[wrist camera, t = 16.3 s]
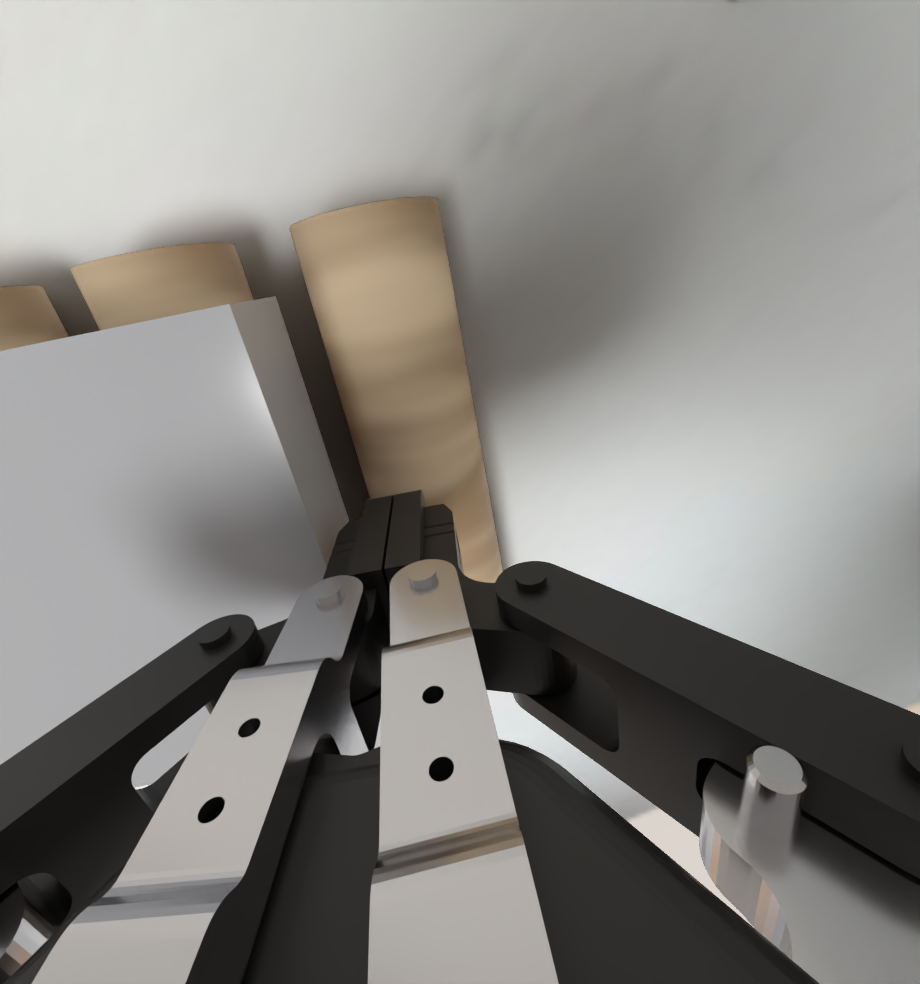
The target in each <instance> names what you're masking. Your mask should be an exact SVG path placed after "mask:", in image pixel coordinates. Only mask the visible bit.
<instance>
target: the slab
mask: <svg viewBox="0 0 920 984" xmlns="http://www.w3.org/2000/svg"><path fill="white" fill-rule="evenodd" d="M348 522H349V518H348V515H347V512H346V509H345V506H344V503H343V500H342V497H341V494H340V491H339V488H338V485H337V482H336V479H335V475H334V472H333V469H332V466H331V463H330V460H329V457H328V454H327V451H326V448H325V445H324V442H323V439H322V436H321V433H320V430H319V427H318V424H317V421H316V418H315V415H314V411H313V408H312V405H311V402H310V399H309V396H308V393H307V390H306V387H305V384H304V381H303V378H302V375H301V372H300V369H299V366H298V363H297V360H296V357H295V354H294V351H293V347H292V344H291V341H290V338H289V335H288V332H287V329H286V326H285V323H284V320H283V317H282V314H281V311H280V308H279V305H278V302H277V299H276V296H273V297H267V298H262V299H256V300H250V301H244V302H238V303H232V304H227V305H222V306H217V307H212V308H207V309H202V310H198V311H193V312H188V313H183V314H178V315H173V316H168V317H163V318H159V319H154V320H149V321H144V322H139V323H134V324H129V325H124V326H120V327H115V328H110V329H105V330H100V331H95V332H90V333H85V334H81V335H76V336H71V337H66V338H61V339H56V340H51V341H47V342H42V343H37V344H32V345H27V346H22V347H17V348H12V349H8V350H3V351H0V765H1V764H2V763H4V762H5V761H7V760H8V759H10V758H11V757H12V756H14V755H15V754H17V753H18V752H20V751H21V750H23V749H24V748H26V747H27V746H28V745H30V744H31V743H33V742H34V741H36V740H37V739H39V738H40V737H42V736H43V735H44V734H46V733H47V732H49V731H50V730H52V729H53V728H55V727H56V726H58V725H59V724H60V723H62V722H63V721H65V720H66V719H68V718H69V717H71V716H72V715H74V714H75V713H77V712H78V711H79V710H81V709H82V708H84V707H85V706H87V705H88V704H90V703H91V702H93V701H94V700H95V699H97V698H98V697H100V696H101V695H103V694H104V693H106V692H107V691H109V690H110V689H111V688H113V687H114V686H116V685H117V684H119V683H120V682H122V681H123V680H125V679H126V678H127V677H129V676H130V675H132V674H133V673H135V672H136V671H138V670H139V669H141V668H142V667H144V666H145V665H146V664H148V663H149V662H151V661H152V660H154V659H155V658H157V657H158V656H160V655H161V654H162V653H164V652H165V651H167V650H168V649H170V648H171V647H173V646H174V645H176V644H177V643H178V642H180V641H181V640H183V639H184V638H186V637H187V636H189V635H190V634H192V633H193V632H194V631H196V630H197V629H199V628H200V627H202V626H204V625H205V624H207V623H209V622H211V621H213V620H216V619H218V618H221V617H224V616H228V615H234V614H243V615H247V616H249V617H251V618H252V619H253V620H254V623H255V625H256V627H257V629H258V630H259V629H262V628H265V627H267V626H270V625H272V624H275V623H277V622H280V621H282V620H285V619H287V618H288V617H289V615H290V613H291V611H292V609H293V607H294V605H295V603H296V601H297V599H298V598H299V596H300V595H301V594H302V593H303V592H304V591H305V590H306V589H307V588H309V587H310V586H312V585H313V584H315V583H317V582H319V581H321V580H323V577H324V574H325V571H326V568H327V565H328V562H329V559H330V556H331V555H332V550H333V547H334V546H335V541H336V538H337V535H338V532H339V531H340V530H341V529H342V528H343V527H344V526H345V525H346V524H347V523H348ZM209 716H210V714H209V712H208V710H207V708H206V707H205V706H204V707H202V708H201V709H200V710H199V711H198V712H196V713H195V714H194V715H193V716H191V717H190V718H189V719H188V720H187V721H185V722H184V723H183V724H182V725H180V726H179V727H178V728H177V729H176V730H174V731H173V732H172V733H171V734H169V735H168V736H167V737H166V738H165V739H163V740H162V741H161V742H160V743H158V744H157V745H156V746H155V747H153V748H152V749H151V750H150V751H149V752H147V753H146V754H145V755H144V756H143V757H142V758H141V759H140V760H139V762H138V763H137V765H136V766H135V768H134V771H133V773H132V785H133V787H138V786H143V785H149V784H153V783H154V782H155V781H156V780H158V779H159V778H160V777H161V776H162V775H163V774H164V773H166V772H167V771H168V770H169V769H170V768H171V767H173V766H174V765H175V764H176V763H177V762H178V761H179V760H181V759H182V758H183V757H184V756H185V755H186V754H187V753H189V752H190V750H191V748H192V746H193V745H194V743H195V741H196V739H197V738H198V736H199V734H200V732H201V730H202V729H203V727H204V725H205V723H206V722H207V720H208V718H209Z"/></svg>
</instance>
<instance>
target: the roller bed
mask: <svg viewBox="0 0 920 984" xmlns="http://www.w3.org/2000/svg"><path fill="white" fill-rule="evenodd" d="M289 229H290V232H291V236H292V239H293V242H294V246H295V249H296V252H297V256H298V259H299V262H300V266H301V269H302V272H303V276H304V279H305V282H306V286H307V289H308V292H309V296H310V299H311V302H312V306H313V309H314V312H315V316H316V319H317V323H318V326H319V329H320V333H321V336H322V339H323V343H324V346H325V349H326V353H327V356H328V359H329V363H330V366H331V369H332V373H333V376H334V379H335V383H336V386H337V389H338V393H339V396H340V399H341V403H342V406H343V409H344V413H345V416H346V419H347V423H348V426H349V429H350V433H351V436H352V440H353V443H354V446H355V450H356V453H357V456H358V460H359V463H360V466H361V470H362V473H363V476H364V480H365V483H366V486H367V490H368V493H369V496H370V499H374V498H379V497H385V496H390V495H395V494H400V493H406V492H411V491H417V490H422V492H423V495H424V499H425V503H426V507H428V506H433V505H439V504H444V505H446V506H447V507H448V508H449V509H450V510H451V511H452V513H453V517H454V522H455V527H456V532H457V537H458V542H459V547H460V552H461V557H462V564H463V572H464V575H465V576H467V577H468V578H470V579H473V580H476V581H480V582H488V583H495V582H496V580H497V578H498V576H499V575H500V574H501V573H502V572H503V569H502V563H501V558H500V552H499V546H498V541H497V535H496V529H495V523H494V518H493V512H492V506H491V501H490V495H489V489H488V483H487V478H486V472H485V466H484V461H483V455H482V449H481V444H480V438H479V432H478V426H477V421H476V415H475V409H474V404H473V398H472V392H471V387H470V381H469V375H468V369H467V364H466V358H465V352H464V347H463V341H462V335H461V329H460V324H459V318H458V312H457V307H456V301H455V295H454V290H453V284H452V278H451V272H450V267H449V261H448V255H447V250H446V244H445V238H444V233H443V227H442V221H441V215H440V210H439V204H438V199H437V198H435V197H408V198H399V199H391V200H384V201H378V202H372V203H366V204H361V205H356V206H352V207H347V208H343V209H338V210H334V211H330V212H327V213H323V214H319V215H316V216H313V217H310V218H307V219H304V220H301V221H299V222H297V223H295V224H293V225H291V226H290V228H289ZM70 271H71V273H72V275H73V277H74V279H75V281H76V283H77V285H78V287H79V289H80V291H81V293H82V295H83V297H84V299H85V301H86V303H87V305H88V307H89V309H90V311H91V313H92V315H93V317H94V319H95V322H96V324H97V326H98V328H99V330H105V329H110V328H115V327H120V326H124V325H129V324H134V323H139V322H144V321H149V320H154V319H159V318H163V317H168V316H173V315H178V314H183V313H188V312H193V311H198V310H202V309H207V308H212V307H217V306H222V305H227V304H232V303H238V302H244V301H250V300H254V299H253V296H252V293H251V290H250V287H249V285H248V282H247V279H246V276H245V273H244V270H243V267H242V264H241V262H240V259H239V256H238V253H237V250H236V247H235V244H232V243H222V242H217V243H198V244H187V245H178V246H170V247H162V248H156V249H149V250H143V251H137V252H131V253H126V254H120V255H115V256H111V257H106V258H102V259H98V260H94V261H90V262H86V263H83V264H80V265H77V266H75V267H73V268H71V269H70ZM66 337H69V336H68V334H67V332H66V330H65V328H64V326H63V324H62V323H61V321H60V319H59V317H58V315H57V313H56V311H55V309H54V307H53V305H52V303H51V301H50V300H49V298H48V296H47V294H46V292H45V290H44V288H43V286H37V285H24V286H8V287H0V351H3V350H8V349H12V348H17V347H22V346H27V345H32V344H37V343H42V342H47V341H51V340H56V339H61V338H66Z"/></svg>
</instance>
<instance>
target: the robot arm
mask: <svg viewBox="0 0 920 984" xmlns="http://www.w3.org/2000/svg"><path fill="white" fill-rule="evenodd" d="M486 690H493V691H502V692H511V693H513V695H514V698H515V700H516V702H517V703H518V704H519V706H521V707H522V708H523V709H524V710H525V711H527V712H528V713H530V714H531V715H532V716H534V717H535V718H536V719H538V720H539V721H541V722H542V723H543V724H545V725H546V726H547V727H549V728H550V729H552V730H553V731H554V732H556V733H557V734H558V735H560V736H561V737H562V738H564V739H565V740H567V741H568V742H569V743H571V744H572V745H573V746H575V747H576V748H578V749H579V750H580V751H582V752H583V753H584V754H586V755H587V756H589V757H590V758H591V759H593V760H594V761H595V762H597V763H598V764H600V765H601V766H602V767H604V768H605V769H606V770H608V771H609V772H610V773H612V774H613V775H615V776H616V777H617V778H619V779H620V780H621V781H623V782H624V783H626V784H627V785H628V786H630V787H631V788H632V789H634V790H635V791H637V792H638V793H639V794H641V795H642V796H643V797H645V798H646V799H648V800H649V801H650V802H652V803H653V804H654V805H656V806H657V807H658V808H660V809H661V810H663V811H664V812H665V813H667V814H668V815H669V816H671V817H672V818H674V819H675V820H676V821H678V822H679V823H680V824H682V825H683V826H685V827H686V828H687V829H689V830H690V831H691V832H693V833H694V834H696V835H697V836H698V837H699V846H700V852H701V857H702V860H703V863H704V866H705V868H706V870H707V872H708V874H709V876H710V878H711V879H712V881H713V882H714V884H715V885H716V887H717V888H718V889H719V890H720V892H721V893H722V894H723V895H724V896H725V897H726V898H727V899H728V900H729V901H730V902H731V903H732V904H733V905H734V906H735V907H736V908H737V909H738V910H739V911H740V912H741V913H742V914H743V915H744V916H745V917H746V918H747V920H748V921H749V922H750V923H751V925H752V926H753V927H754V928H753V927H752V926H751V925H750V924H748V923H747V922H746V921H745V920H744V919H743V918H741V917H740V916H739V915H738V914H736V913H735V912H734V911H733V910H732V909H731V908H730V907H728V906H727V905H726V904H725V903H724V902H722V901H721V900H720V899H719V898H718V897H716V896H715V895H714V894H713V893H712V892H710V891H709V890H708V889H707V888H706V887H704V886H703V885H702V884H701V883H700V882H699V881H697V880H696V879H695V878H694V877H693V876H692V875H690V874H689V873H688V872H687V871H685V870H684V869H683V868H682V867H681V866H680V865H678V864H677V863H676V862H675V861H674V860H672V859H671V858H670V857H669V856H668V855H667V854H665V853H664V852H663V851H662V850H661V849H659V848H658V847H657V846H656V845H655V844H653V843H652V842H651V841H650V840H649V839H648V838H646V837H645V836H644V835H643V834H642V833H640V832H639V831H638V830H637V829H636V828H634V827H633V826H632V825H631V824H630V823H629V822H627V821H626V820H625V819H624V818H623V817H621V816H620V815H619V814H618V813H617V812H616V811H614V810H613V809H612V808H611V807H610V806H608V805H607V804H606V803H605V802H604V801H603V800H601V799H600V798H599V797H598V796H597V795H595V794H594V793H593V792H592V791H591V790H589V789H588V788H587V787H586V786H585V785H584V784H582V783H581V782H580V781H579V780H578V779H576V778H575V777H574V776H573V775H572V774H570V773H569V772H568V771H567V770H566V769H564V768H563V767H562V766H560V765H559V764H558V763H556V762H555V761H553V760H551V759H550V758H548V757H547V756H545V755H543V754H541V753H539V752H537V751H535V750H533V749H531V748H528V747H526V746H523V745H520V744H517V743H514V742H509V741H504V740H499V739H498V736H497V732H496V728H495V724H494V720H493V715H492V711H491V707H490V703H489V699H488V695H487V691H486ZM204 706H205V707H206V708H207V710H208V712H209V714H210V716H209V718H208V720H207V722H206V723H205V725H204V727H203V729H202V730H201V732H200V734H199V736H198V738H197V739H196V741H195V743H194V745H193V746H192V748H191V750H190V752H189V753H187V754H186V755H185V756H184V757H183V758H182V759H181V760H179V761H178V762H177V763H176V764H175V765H174V766H173V767H171V768H170V769H169V770H168V771H167V772H166V773H164V774H163V775H162V776H161V777H160V778H159V779H158V780H156V781H155V782H154V783H153V784H151V785H149V786H147V787H145V788H143V789H138V790H135V789H134V787H133V785H132V773H133V771H134V768H135V766H136V765H137V763H138V762H139V760H140V759H141V758H142V757H143V756H144V755H145V754H146V753H147V752H149V751H150V750H151V749H152V748H153V747H155V746H156V745H157V744H158V743H160V742H161V741H162V740H163V739H165V738H166V737H167V736H168V735H169V734H171V733H172V732H173V731H174V730H176V729H177V728H178V727H179V726H180V725H182V724H183V723H184V722H185V721H187V720H188V719H189V718H190V717H191V716H193V715H194V714H195V713H196V712H198V711H199V710H200V709H201V708H202V707H204ZM0 984H920V715H918V714H915V713H913V712H910V711H908V710H906V709H903V708H901V707H898V706H896V705H893V704H891V703H889V702H886V701H884V700H881V699H879V698H877V697H874V696H872V695H869V694H867V693H864V692H862V691H860V690H857V689H855V688H852V687H850V686H847V685H845V684H843V683H840V682H838V681H835V680H833V679H830V678H828V677H826V676H823V675H821V674H818V673H816V672H813V671H811V670H809V669H806V668H804V667H801V666H799V665H796V664H794V663H792V662H789V661H787V660H784V659H782V658H779V657H777V656H775V655H772V654H770V653H767V652H765V651H763V650H760V649H758V648H755V647H753V646H750V645H748V644H746V643H743V642H741V641H738V640H736V639H733V638H731V637H729V636H726V635H724V634H721V633H719V632H716V631H714V630H712V629H709V628H707V627H704V626H702V625H699V624H697V623H695V622H692V621H690V620H687V619H685V618H682V617H680V616H678V615H675V614H673V613H670V612H668V611H666V610H663V609H661V608H658V607H656V606H653V605H651V604H649V603H646V602H644V601H641V600H639V599H636V598H634V597H632V596H629V595H627V594H624V593H622V592H619V591H617V590H615V589H612V588H610V587H607V586H605V585H602V584H600V583H598V582H595V581H593V580H590V579H588V578H585V577H583V576H581V575H578V574H576V573H573V572H571V571H568V570H566V569H564V568H561V567H559V566H556V565H554V564H551V563H547V562H540V561H530V562H523V563H519V564H516V565H513V566H511V567H509V568H507V569H506V570H504V571H503V572H502V573H501V574H500V575H499V576H498V578H497V580H496V582H495V583H488V582H480V581H476V580H473V579H470V578H468V577H467V576H465V575H464V572H463V564H462V557H461V552H460V547H459V542H458V537H457V532H456V527H455V522H454V517H453V513H452V511H451V510H450V509H449V508H448V507H447V506H446V505H444V504H439V505H433V506H428V507H426V503H425V499H424V495H423V492H422V490H417V491H411V492H406V493H400V494H395V495H390V496H385V497H379V498H374V499H368V500H366V501H365V505H364V509H363V512H362V516H361V519H358V520H352V521H349V522H348V523H347V524H346V525H345V526H344V527H343V528H342V529H341V530H340V531H339V532H338V535H337V538H336V541H335V546H334V547H333V550H332V555H331V556H330V559H329V562H328V565H327V568H326V571H325V574H324V577H323V580H321V581H319V582H317V583H315V584H313V585H312V586H310V587H309V588H307V589H306V590H305V591H304V592H303V593H302V594H301V595H300V596H299V598H298V599H297V601H296V603H295V605H294V607H293V609H292V611H291V613H290V615H289V617H288V618H287V619H285V620H282V621H280V622H277V623H275V624H272V625H270V626H267V627H265V628H262V629H259V630H258V629H257V627H256V625H255V623H254V620H253V619H252V618H251V617H249V616H247V615H243V614H234V615H228V616H224V617H221V618H218V619H216V620H213V621H211V622H209V623H207V624H205V625H204V626H202V627H200V628H199V629H197V630H196V631H194V632H193V633H192V634H190V635H189V636H187V637H186V638H184V639H183V640H181V641H180V642H178V643H177V644H176V645H174V646H173V647H171V648H170V649H168V650H167V651H165V652H164V653H162V654H161V655H160V656H158V657H157V658H155V659H154V660H152V661H151V662H149V663H148V664H146V665H145V666H144V667H142V668H141V669H139V670H138V671H136V672H135V673H133V674H132V675H130V676H129V677H127V678H126V679H125V680H123V681H122V682H120V683H119V684H117V685H116V686H114V687H113V688H111V689H110V690H109V691H107V692H106V693H104V694H103V695H101V696H100V697H98V698H97V699H95V700H94V701H93V702H91V703H90V704H88V705H87V706H85V707H84V708H82V709H81V710H79V711H78V712H77V713H75V714H74V715H72V716H71V717H69V718H68V719H66V720H65V721H63V722H62V723H60V724H59V725H58V726H56V727H55V728H53V729H52V730H50V731H49V732H47V733H46V734H44V735H43V736H42V737H40V738H39V739H37V740H36V741H34V742H33V743H31V744H30V745H28V746H27V747H26V748H24V749H23V750H21V751H20V752H18V753H17V754H15V755H14V756H12V757H11V758H10V759H8V760H7V761H5V762H4V763H2V764H1V765H0Z"/></svg>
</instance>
